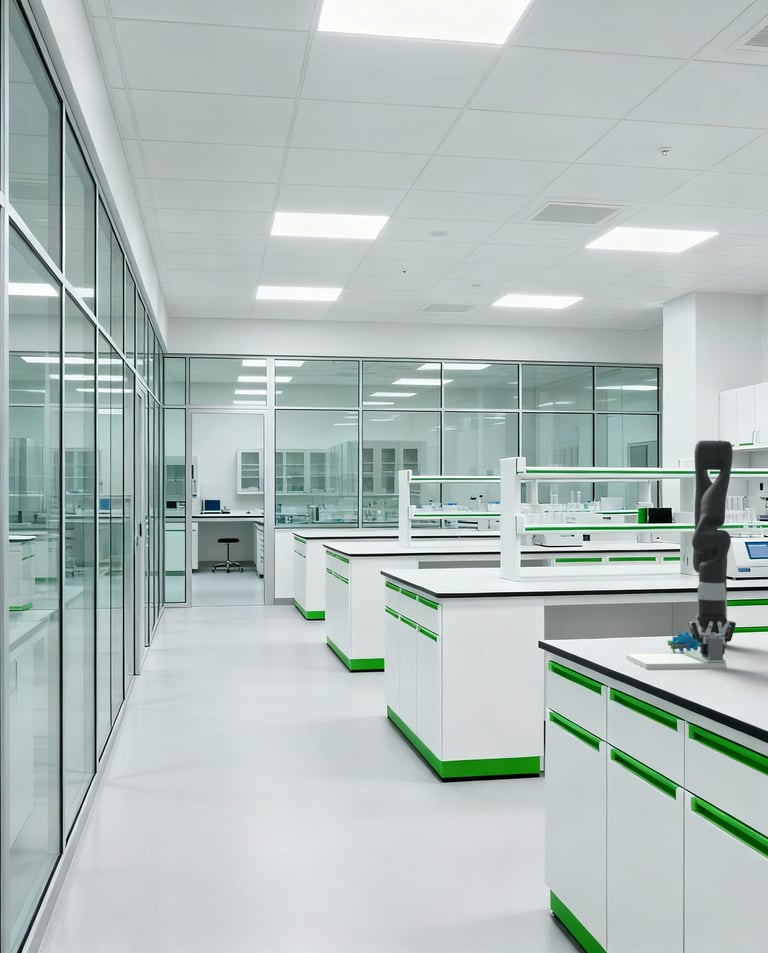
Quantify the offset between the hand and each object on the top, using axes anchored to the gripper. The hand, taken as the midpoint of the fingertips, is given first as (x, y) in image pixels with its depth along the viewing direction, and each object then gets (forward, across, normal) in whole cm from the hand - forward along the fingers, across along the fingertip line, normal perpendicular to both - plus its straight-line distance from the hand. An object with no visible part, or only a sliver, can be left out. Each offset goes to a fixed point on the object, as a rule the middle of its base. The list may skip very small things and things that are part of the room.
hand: (712, 656), depth 252 cm
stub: (+1, 0, -5) cm, 6 cm away
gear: (+3, -2, -22) cm, 22 cm away
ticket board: (+3, +9, -6) cm, 11 cm away
